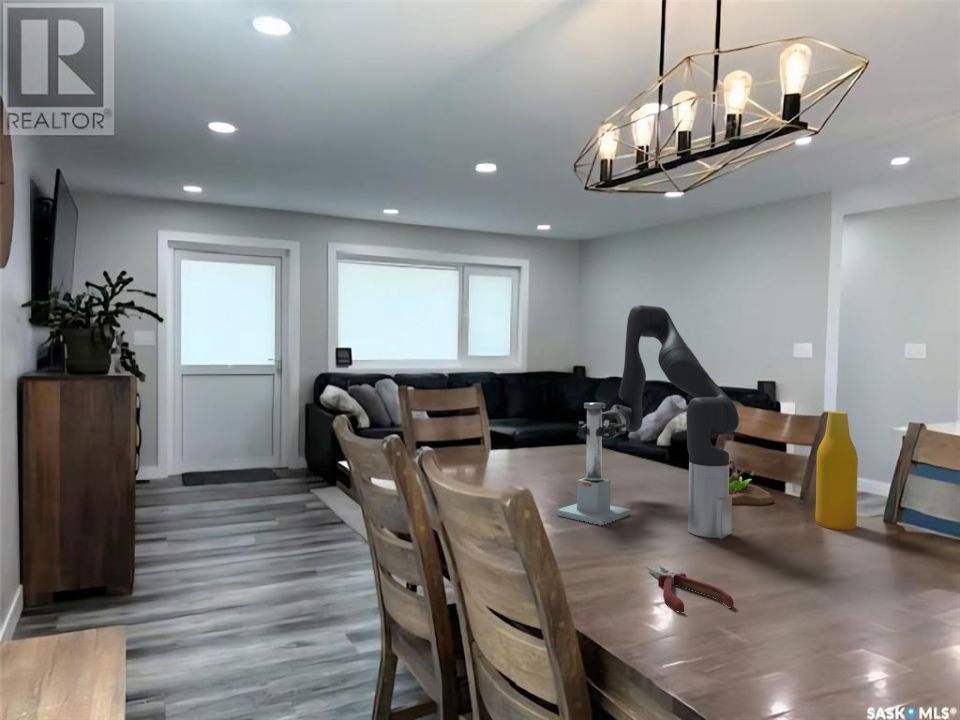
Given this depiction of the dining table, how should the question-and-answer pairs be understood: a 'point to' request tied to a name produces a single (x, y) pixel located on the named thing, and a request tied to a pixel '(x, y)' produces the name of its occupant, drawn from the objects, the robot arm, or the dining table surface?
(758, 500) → the plant
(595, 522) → the stand base
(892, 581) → the dining table surface
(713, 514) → the robot arm
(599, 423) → the column
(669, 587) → the pliers
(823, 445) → the beer bottle
